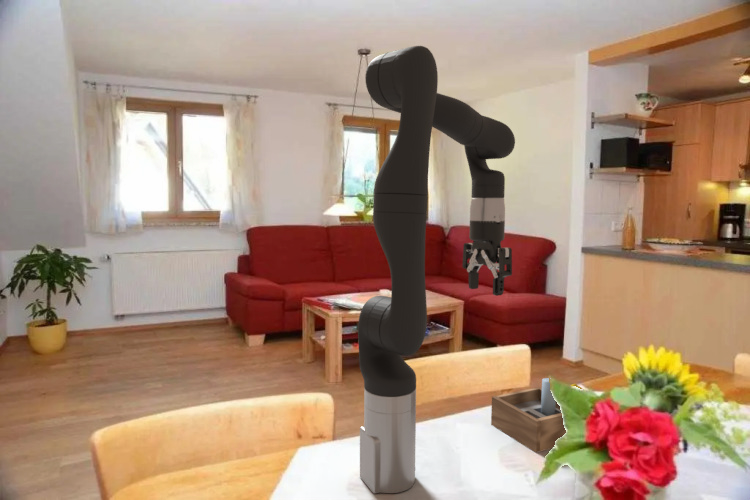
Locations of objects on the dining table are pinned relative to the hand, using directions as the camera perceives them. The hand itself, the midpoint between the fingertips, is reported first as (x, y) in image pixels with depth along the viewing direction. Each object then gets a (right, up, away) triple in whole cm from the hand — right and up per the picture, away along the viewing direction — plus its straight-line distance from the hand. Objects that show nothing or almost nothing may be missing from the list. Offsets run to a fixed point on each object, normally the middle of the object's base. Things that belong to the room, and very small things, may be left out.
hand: (485, 291), depth 111 cm
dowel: (+14, -30, 0) cm, 33 cm away
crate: (+11, -30, -2) cm, 32 cm away
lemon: (+22, -30, +6) cm, 38 cm away
